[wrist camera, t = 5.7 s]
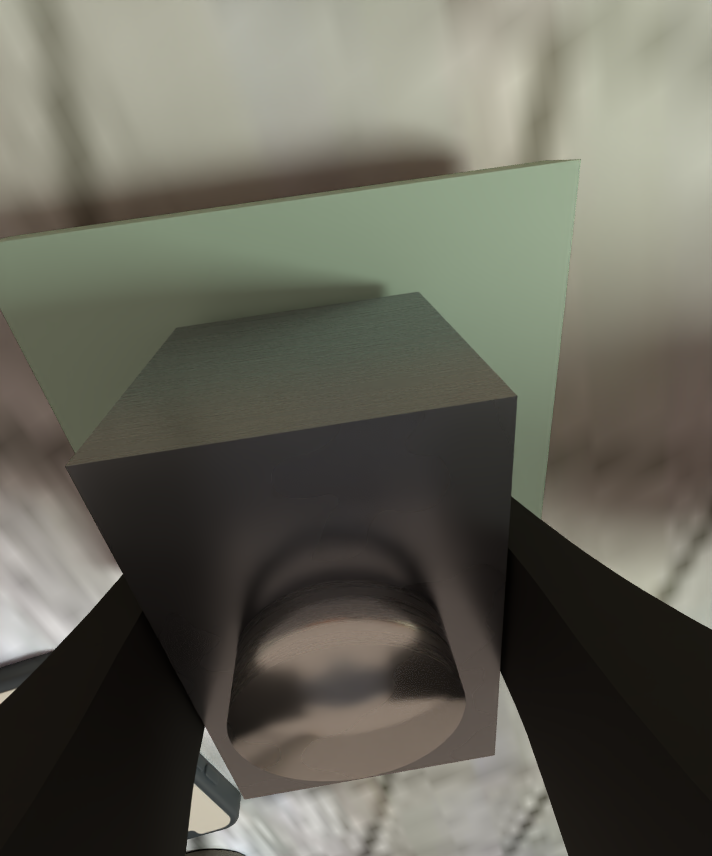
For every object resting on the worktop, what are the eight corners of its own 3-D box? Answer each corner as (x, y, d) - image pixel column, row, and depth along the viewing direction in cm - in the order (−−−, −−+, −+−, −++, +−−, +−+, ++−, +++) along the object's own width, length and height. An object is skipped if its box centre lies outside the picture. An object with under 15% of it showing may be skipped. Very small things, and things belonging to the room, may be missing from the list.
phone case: (-91, 684, 20) (115, 829, 28) (-121, 722, 19) (104, 864, 26) (93, 626, 19) (251, 791, 27) (76, 661, 18) (248, 825, 26)
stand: (518, 161, 12) (580, 159, 9) (500, 518, 18) (534, 578, 15) (45, 228, 11) (-32, 246, 9) (191, 568, 17) (171, 638, 15)
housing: (418, 291, 9) (562, 442, 4) (432, 565, 13) (515, 817, 8) (176, 327, 9) (14, 530, 4) (263, 593, 13) (238, 866, 8)
